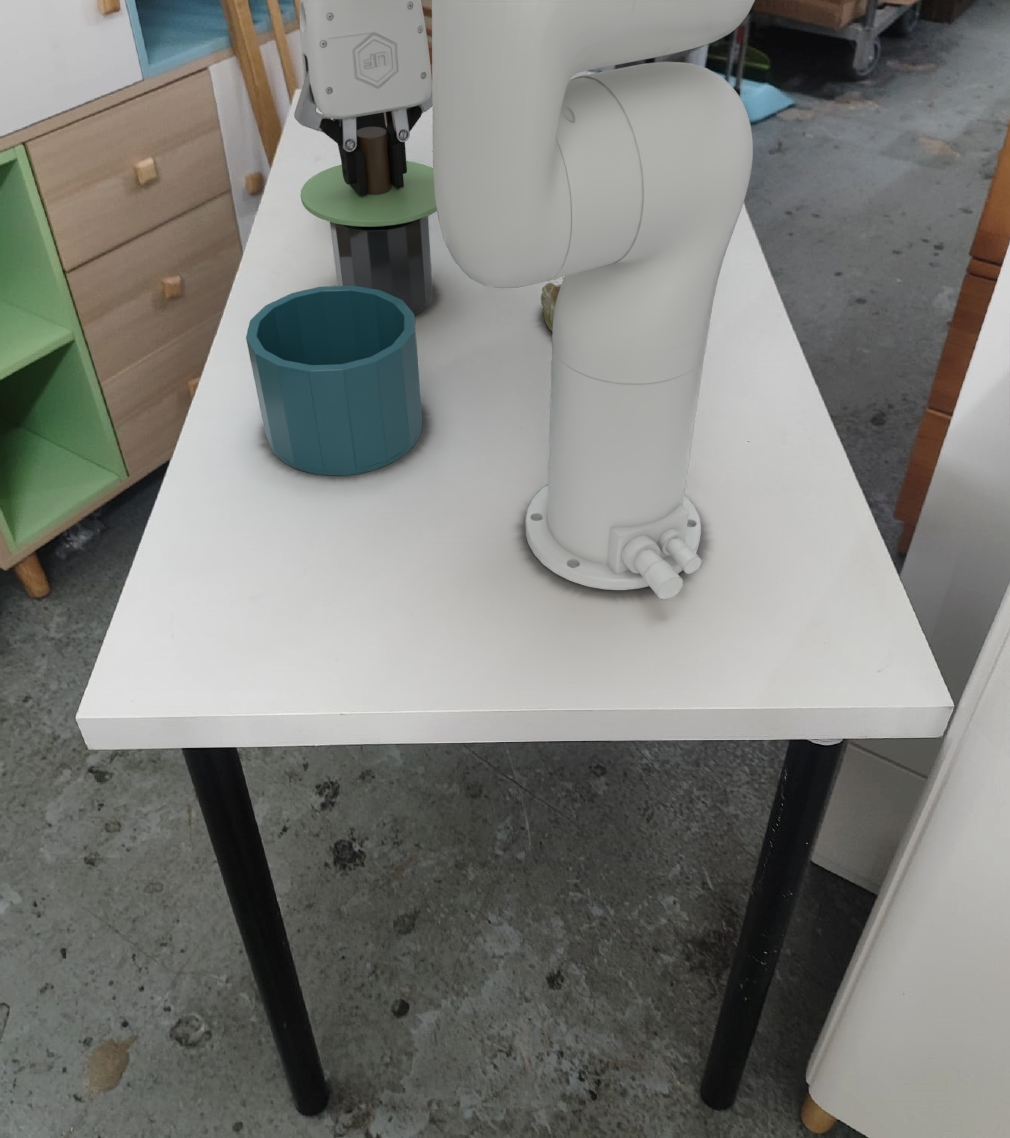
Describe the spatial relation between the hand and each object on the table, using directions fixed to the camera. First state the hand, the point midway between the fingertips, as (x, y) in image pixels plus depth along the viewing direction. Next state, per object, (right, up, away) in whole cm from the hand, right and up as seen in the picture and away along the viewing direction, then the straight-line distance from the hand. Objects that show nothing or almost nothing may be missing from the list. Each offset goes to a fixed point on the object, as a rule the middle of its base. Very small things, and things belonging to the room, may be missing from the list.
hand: (376, 184), depth 93 cm
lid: (0, -1, +1) cm, 1 cm away
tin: (-2, -23, -8) cm, 25 cm away
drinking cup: (-2, +3, +20) cm, 20 cm away
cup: (0, -8, +8) cm, 11 cm away
